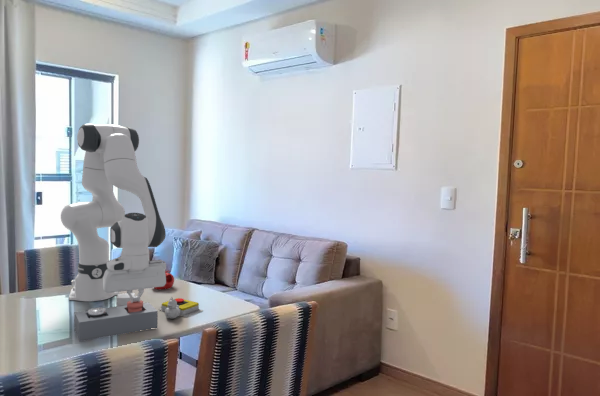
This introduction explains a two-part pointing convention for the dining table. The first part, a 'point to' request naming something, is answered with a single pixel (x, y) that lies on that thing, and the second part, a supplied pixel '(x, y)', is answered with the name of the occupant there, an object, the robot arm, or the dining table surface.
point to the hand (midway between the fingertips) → (135, 302)
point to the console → (114, 322)
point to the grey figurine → (172, 309)
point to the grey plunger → (96, 312)
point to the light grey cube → (123, 299)
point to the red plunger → (134, 306)
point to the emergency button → (184, 307)
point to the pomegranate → (167, 282)
